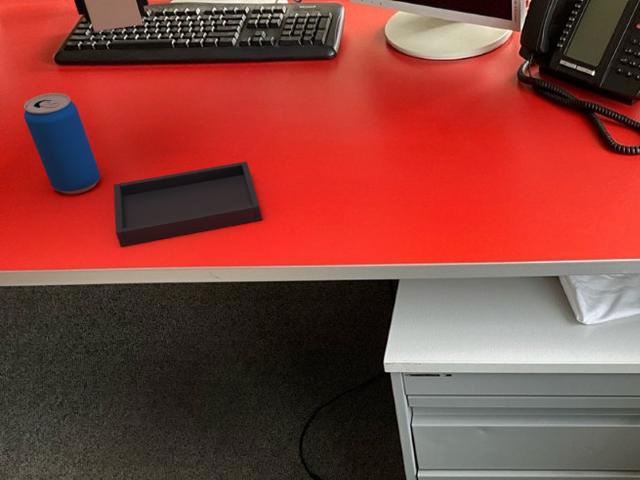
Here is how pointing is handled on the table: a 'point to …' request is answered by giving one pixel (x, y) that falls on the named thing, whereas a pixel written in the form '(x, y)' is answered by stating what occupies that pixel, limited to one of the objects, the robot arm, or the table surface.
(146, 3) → the robot arm
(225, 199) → the tray
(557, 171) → the table surface
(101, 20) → the pad
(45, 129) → the beverage can
